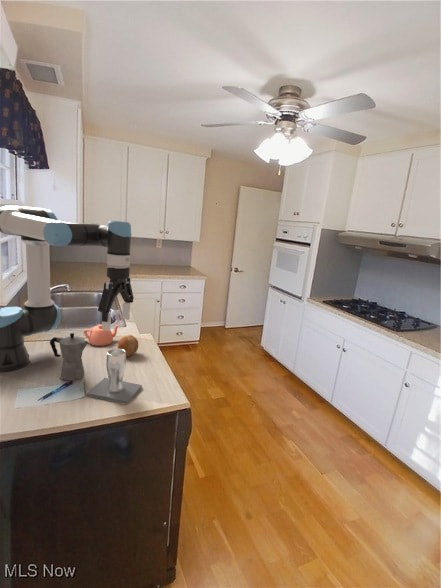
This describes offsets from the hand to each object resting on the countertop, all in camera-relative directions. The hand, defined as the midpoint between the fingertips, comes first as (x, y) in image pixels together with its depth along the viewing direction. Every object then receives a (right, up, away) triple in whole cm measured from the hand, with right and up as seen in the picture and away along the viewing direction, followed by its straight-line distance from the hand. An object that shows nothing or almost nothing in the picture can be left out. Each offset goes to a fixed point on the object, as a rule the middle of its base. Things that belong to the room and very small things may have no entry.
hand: (116, 324), depth 111 cm
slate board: (-2, -26, +5) cm, 27 cm away
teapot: (-24, -14, +48) cm, 56 cm away
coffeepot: (-24, -22, +14) cm, 35 cm away
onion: (-7, -19, +37) cm, 42 cm away
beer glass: (-2, -25, +5) cm, 26 cm away
